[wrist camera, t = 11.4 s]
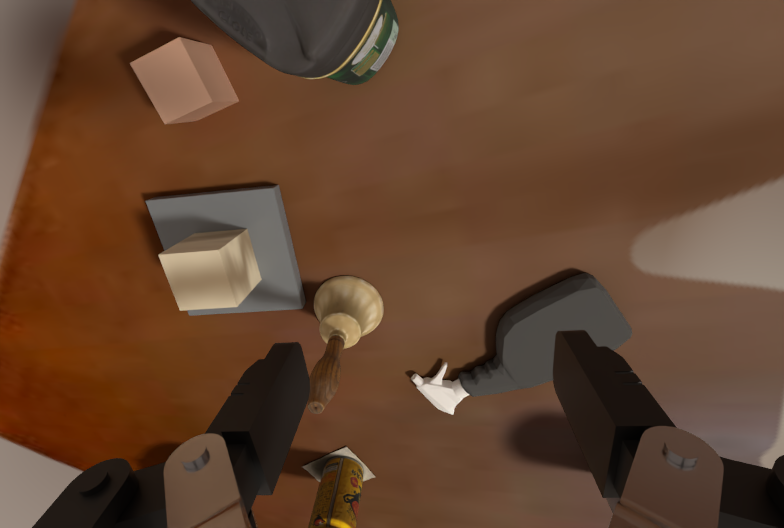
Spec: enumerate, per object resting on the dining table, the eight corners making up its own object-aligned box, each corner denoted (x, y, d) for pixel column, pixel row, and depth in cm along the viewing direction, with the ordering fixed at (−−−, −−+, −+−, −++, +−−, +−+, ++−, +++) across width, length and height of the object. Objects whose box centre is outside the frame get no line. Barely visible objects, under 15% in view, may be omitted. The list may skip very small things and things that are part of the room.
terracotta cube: (167, 67, 35) (129, 63, 30) (212, 45, 34) (179, 37, 29) (196, 121, 37) (164, 124, 32) (239, 101, 36) (212, 101, 31)
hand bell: (337, 261, 42) (292, 349, 27) (397, 301, 43) (385, 403, 29) (301, 312, 45) (244, 415, 30) (359, 347, 46) (330, 461, 32)
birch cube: (194, 233, 40) (158, 254, 34) (247, 228, 39) (218, 249, 34) (211, 283, 42) (179, 310, 37) (261, 279, 42) (237, 307, 36)
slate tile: (154, 197, 40) (145, 200, 39) (278, 184, 39) (273, 188, 37) (196, 309, 46) (189, 315, 44) (306, 302, 44) (302, 308, 43)
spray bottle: (629, 329, 43) (453, 416, 51) (583, 259, 40) (403, 363, 48) (643, 344, 40) (454, 434, 48) (595, 271, 37) (402, 379, 45)
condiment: (375, 475, 56) (364, 567, 45) (331, 493, 58) (311, 584, 47) (347, 445, 54) (327, 534, 43) (302, 464, 56) (273, 553, 45)
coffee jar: (272, 29, 33) (115, -42, 16) (321, -63, 30) (190, -268, 13) (361, 102, 35) (303, 107, 18) (414, 22, 32) (405, -62, 15)
